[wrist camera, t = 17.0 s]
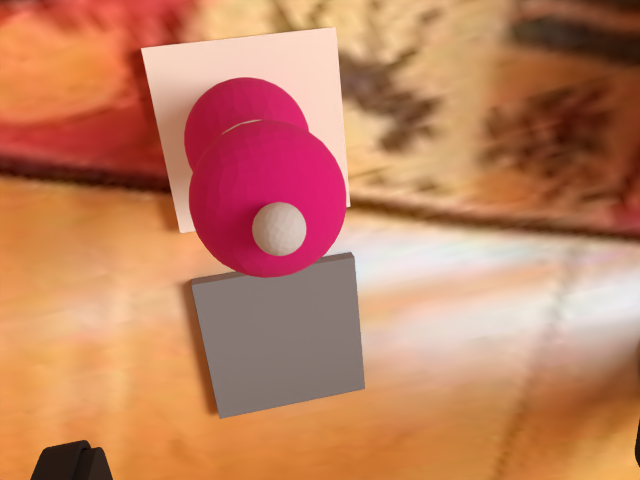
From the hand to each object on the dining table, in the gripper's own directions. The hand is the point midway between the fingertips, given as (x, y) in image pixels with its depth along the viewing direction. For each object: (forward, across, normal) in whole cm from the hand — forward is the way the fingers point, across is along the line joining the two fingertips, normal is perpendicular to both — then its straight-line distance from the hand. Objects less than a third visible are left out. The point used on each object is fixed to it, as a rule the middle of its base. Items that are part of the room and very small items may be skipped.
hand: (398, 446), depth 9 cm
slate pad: (+30, 0, +16) cm, 34 cm away
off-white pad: (+30, 0, 0) cm, 30 cm away
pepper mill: (+29, +1, -1) cm, 29 cm away
